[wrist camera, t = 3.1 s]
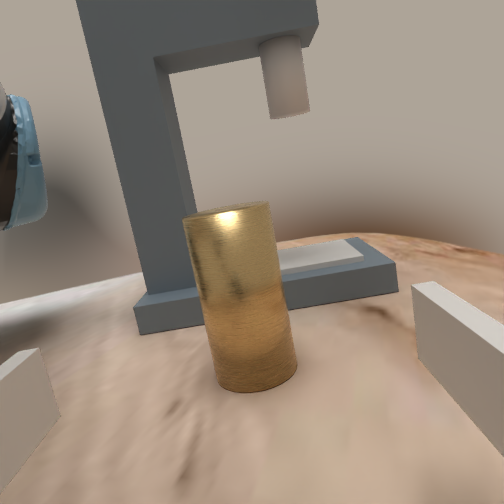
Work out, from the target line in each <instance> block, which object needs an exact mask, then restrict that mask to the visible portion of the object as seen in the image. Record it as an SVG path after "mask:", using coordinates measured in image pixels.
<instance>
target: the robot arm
mask: <svg viewBox="0 0 504 504" xmlns="http://www.w3.org/2000/svg"><path fill="white" fill-rule="evenodd" d="M47 206H48V202H47V192H46V185H45V180H44V173H43V168H42V163H41V160H40V152H39V145H38V141H37V135H36V130H35V125H34V120H33V116H32V112H31V108H30V105H29V103H28V101H27V100H26V99H25V98H23V97H19V96H18V97H17V96H14V95H11V94H10V95H6V93H5V91H4V88H3V87H2V85H1V83H0V230H9V229H10V228H12V227H13V226H18V225H22V224H25V223H29V222H34V221H36V220H39V219H40V218H42V217H43V216H44V214H45V213H46V211H47ZM411 290H412V300H413V310H414V320H415V330H416V340H417V350H418V359H419V360H420V361H421V362H422V363H423V364H424V365H425V367H426V368H427V369H428V370H429V371H430V372H431V374H432V375H433V376H434V377H435V378H436V379H437V381H438V382H439V383H440V384H441V385H442V386H443V387H444V389H445V390H446V391H447V392H448V393H449V394H450V396H451V397H452V398H453V399H454V400H455V401H456V403H457V404H458V405H459V406H460V407H461V408H462V409H463V411H464V412H465V413H466V414H467V415H468V416H469V418H470V419H471V420H472V421H473V422H474V423H475V425H476V426H477V427H478V428H479V429H480V430H481V431H482V433H483V434H484V435H485V436H486V437H487V438H488V440H489V441H490V442H491V443H492V444H493V445H494V447H495V448H496V449H497V450H498V451H499V452H500V453H501V455H502V456H503V457H504V325H503V324H501V323H499V322H498V321H496V320H495V319H493V318H492V317H490V316H488V315H487V314H485V313H484V312H482V311H480V310H479V309H477V308H476V307H474V306H473V305H471V304H469V303H468V302H466V301H465V300H463V299H461V298H460V297H458V296H457V295H455V294H453V293H452V292H450V291H449V290H447V289H446V288H444V287H442V286H441V285H439V284H438V283H436V282H434V281H430V282H425V283H419V284H413V285H411ZM60 417H61V415H60V412H59V408H58V405H57V402H56V399H55V396H54V393H53V389H52V386H51V383H50V380H49V377H48V374H47V370H46V367H45V364H44V361H43V358H42V355H41V351H40V348H34V349H29V350H23V351H18V352H17V353H16V354H14V355H13V356H12V357H10V358H9V359H8V360H7V361H5V362H4V363H3V364H2V365H0V494H1V493H2V492H3V490H4V489H5V488H6V486H7V485H8V484H9V483H10V481H11V480H12V479H13V477H14V476H15V475H16V474H17V472H18V471H19V470H20V468H21V467H22V466H23V464H24V463H25V462H26V461H27V459H28V458H29V457H30V455H31V454H32V453H33V452H34V450H35V449H36V448H37V446H38V445H39V444H40V443H41V441H42V440H43V439H44V437H45V436H46V435H47V433H48V432H49V431H50V430H51V428H52V427H53V426H54V424H55V423H56V422H57V421H58V419H59V418H60Z"/></svg>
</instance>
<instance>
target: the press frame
mask: <svg viewBox="0 0 504 504" xmlns="http://www.w3.org/2000/svg"><path fill="white" fill-rule="evenodd" d="M76 3H77V7H78V11H79V16H80V20H81V24H82V27H83V32H84V36H85V40H86V44H87V48H88V52H89V56H90V60H91V64H92V68H93V72H94V76H95V80H96V85H97V89H98V93H99V97H100V101H101V105H102V109H103V113H104V117H105V121H106V125H107V129H108V133H109V137H110V141H111V146H112V150H113V154H114V158H115V162H116V165H117V170H118V174H119V178H120V182H121V186H122V190H123V194H124V198H125V202H126V206H127V210H128V215H129V218H130V222H131V227H132V231H133V235H134V238H135V243H136V247H137V251H138V255H139V259H140V263H141V267H142V271H143V276H144V280H145V284H146V288H147V292H146V293H145V294H144V296H143V297H142V298H141V299H140V300H139V301H138V303H137V304H136V305H135V306H134V307H133V309H134V312H135V316H136V320H137V324H138V328H139V332H140V335H143V334H149V333H155V332H161V331H167V330H173V329H179V328H185V327H190V326H196V325H202V324H205V322H204V317H203V313H202V308H201V304H200V299H199V295H198V290H197V286H196V281H195V277H194V272H193V268H192V263H191V259H190V254H189V250H188V245H187V241H186V236H185V232H184V227H183V223H182V218H183V217H185V216H188V215H191V214H195V213H197V208H196V204H195V199H194V194H193V189H192V184H191V180H190V175H189V170H188V165H187V161H186V156H185V151H184V147H183V141H182V137H181V132H180V128H179V122H178V118H177V113H176V108H175V104H174V98H173V94H172V89H171V84H170V80H169V75H168V74H172V73H177V72H182V71H188V70H193V69H198V68H203V67H208V66H213V65H218V64H223V63H229V62H234V61H239V60H244V59H249V58H254V57H259V56H260V58H261V64H262V70H263V77H264V83H265V89H266V95H267V101H268V107H269V113H270V119H280V118H286V117H292V116H296V115H300V114H304V113H307V112H309V111H310V107H309V100H308V93H307V86H306V79H305V72H304V65H303V58H302V52H301V48H305V47H309V45H310V43H311V41H312V38H313V36H314V34H315V32H316V30H317V28H318V25H319V21H318V13H317V6H316V0H76ZM277 252H278V258H279V263H280V269H281V275H282V281H283V286H284V292H285V298H286V303H287V309H288V310H291V309H297V308H303V307H309V306H315V305H321V304H327V303H333V302H339V301H345V300H351V299H356V298H362V297H368V296H374V295H380V294H386V293H392V292H398V282H397V273H396V264H395V262H394V261H392V260H391V259H389V258H388V257H386V256H385V255H383V254H382V253H380V252H379V251H377V250H376V249H374V248H373V247H371V246H370V245H368V244H367V243H365V242H364V241H363V240H361V239H360V238H358V237H355V238H349V239H340V240H335V241H329V242H323V243H317V244H312V245H306V246H300V247H295V248H289V249H283V250H277Z"/></svg>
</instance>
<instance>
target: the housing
mask: <svg viewBox="0 0 504 504" xmlns="http://www.w3.org/2000/svg"><path fill="white" fill-rule="evenodd" d="M182 223H183V227H184V232H185V236H186V241H187V245H188V250H189V254H190V259H191V263H192V268H193V272H194V277H195V281H196V286H197V290H198V295H199V299H200V304H201V308H202V313H203V317H204V322H205V326H206V331H207V335H208V340H209V344H210V349H211V353H212V358H213V362H214V367H215V371H216V376H217V380H218V383H219V384H220V385H221V386H222V387H223V388H225V389H227V390H230V391H233V392H240V393H249V392H258V391H263V390H266V389H270V388H273V387H275V386H277V385H279V384H281V383H283V382H285V381H286V380H288V379H289V378H290V377H291V376H292V375H293V374H294V372H295V371H296V368H297V361H296V355H295V349H294V344H293V338H292V332H291V326H290V321H289V315H288V309H287V303H286V298H285V292H284V286H283V281H282V275H281V269H280V263H279V258H278V252H277V246H276V241H275V235H274V229H273V223H272V218H271V212H270V207H269V202H268V201H259V202H250V203H243V204H237V205H231V206H225V207H220V208H215V209H211V210H207V211H203V212H198V213H195V214H191V215H188V216H185V217H183V218H182Z"/></svg>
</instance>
